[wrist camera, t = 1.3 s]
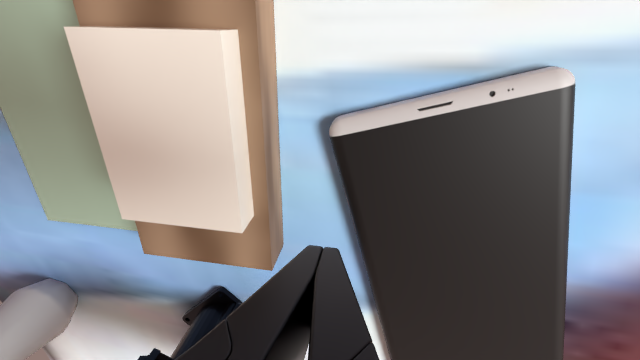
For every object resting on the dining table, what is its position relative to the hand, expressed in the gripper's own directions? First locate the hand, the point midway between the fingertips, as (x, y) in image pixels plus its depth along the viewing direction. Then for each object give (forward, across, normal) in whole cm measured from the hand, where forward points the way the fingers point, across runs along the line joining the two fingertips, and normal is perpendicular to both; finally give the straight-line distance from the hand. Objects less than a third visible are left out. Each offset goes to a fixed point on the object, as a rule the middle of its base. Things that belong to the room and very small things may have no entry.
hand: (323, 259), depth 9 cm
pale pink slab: (+10, +10, 0) cm, 14 cm away
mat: (+13, +20, 0) cm, 24 cm away
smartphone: (+14, -8, +10) cm, 19 cm away
